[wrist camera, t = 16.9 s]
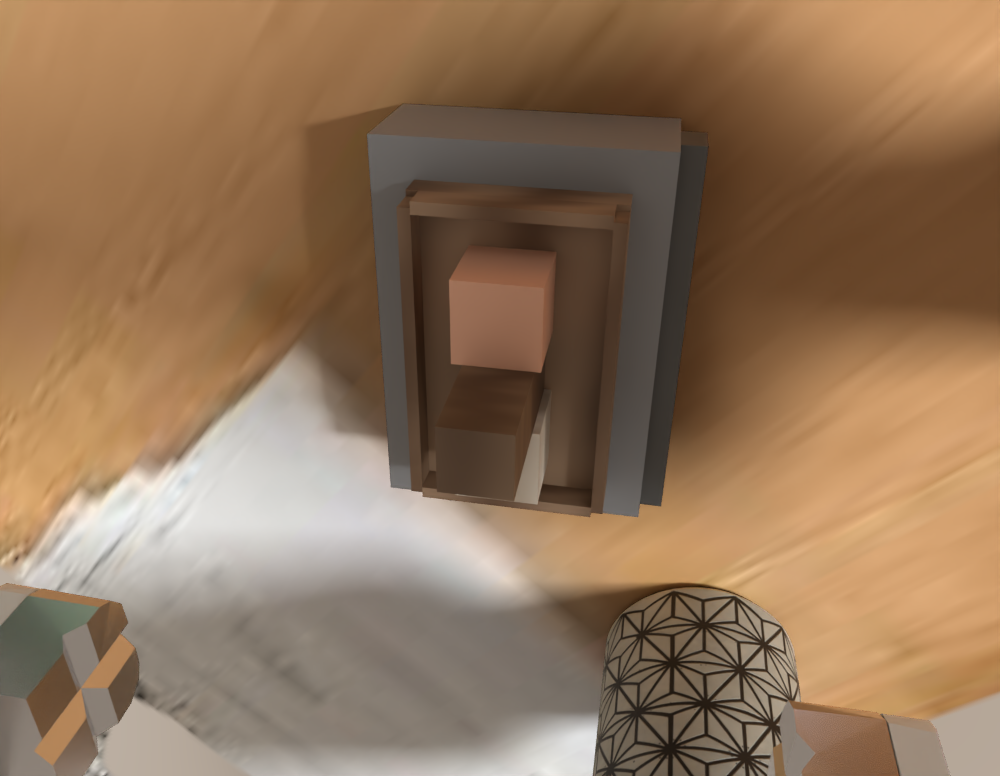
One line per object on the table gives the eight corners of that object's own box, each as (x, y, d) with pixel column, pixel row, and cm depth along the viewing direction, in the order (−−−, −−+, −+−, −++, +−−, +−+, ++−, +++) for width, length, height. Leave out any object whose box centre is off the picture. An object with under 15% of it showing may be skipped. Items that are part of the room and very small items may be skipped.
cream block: (551, 389, 43) (540, 434, 39) (548, 456, 45) (537, 504, 42) (471, 381, 43) (453, 425, 40) (472, 448, 46) (455, 494, 42)
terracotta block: (556, 251, 39) (544, 288, 36) (552, 331, 41) (541, 372, 38) (469, 245, 40) (448, 279, 36) (469, 323, 42) (450, 363, 38)
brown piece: (632, 194, 39) (617, 290, 30) (606, 483, 47) (588, 626, 38) (414, 179, 40) (337, 267, 31) (425, 462, 48) (367, 595, 40)
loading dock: (706, 119, 42) (709, 153, 37) (662, 457, 53) (660, 519, 48) (403, 103, 45) (366, 133, 40) (418, 430, 55) (390, 487, 50)
